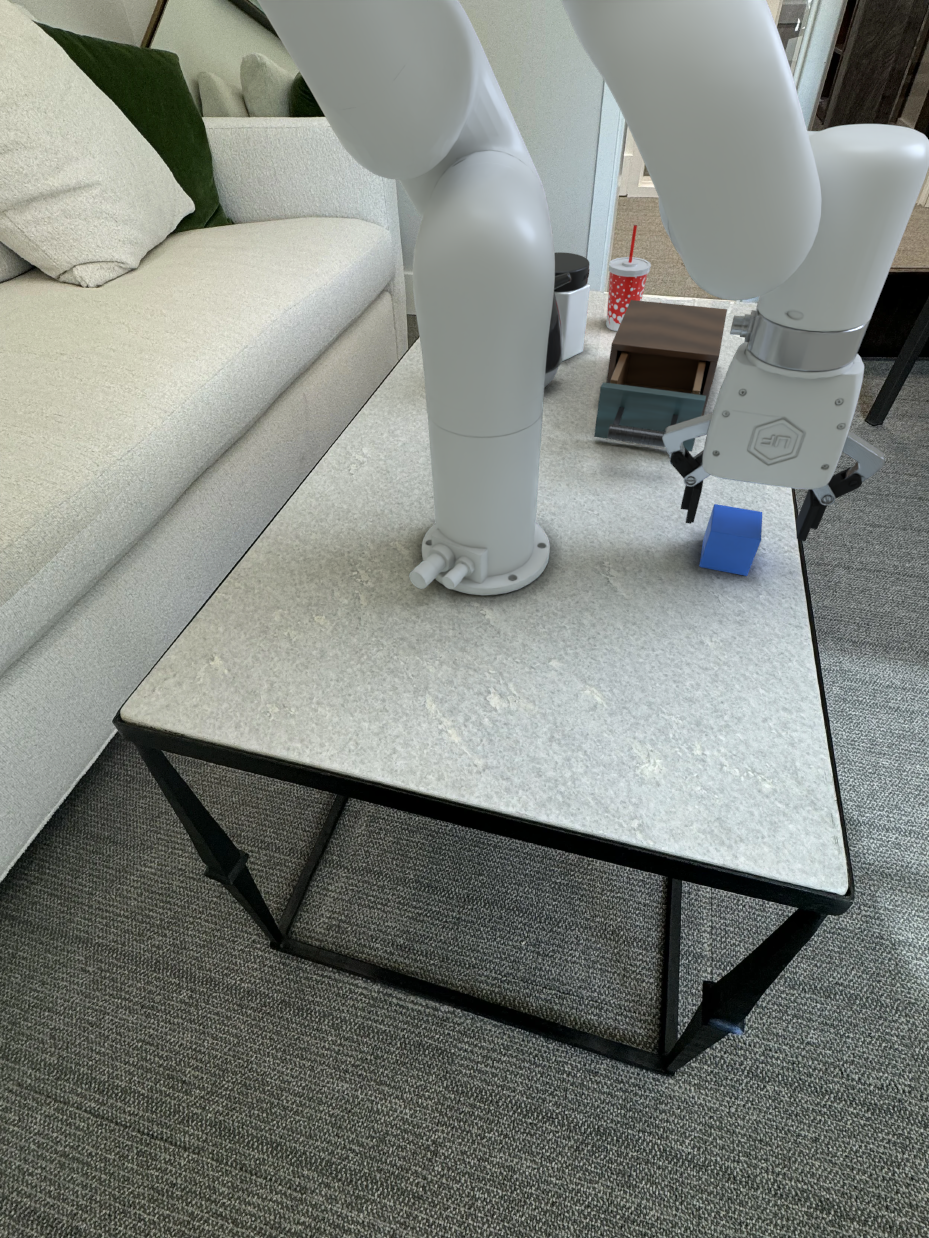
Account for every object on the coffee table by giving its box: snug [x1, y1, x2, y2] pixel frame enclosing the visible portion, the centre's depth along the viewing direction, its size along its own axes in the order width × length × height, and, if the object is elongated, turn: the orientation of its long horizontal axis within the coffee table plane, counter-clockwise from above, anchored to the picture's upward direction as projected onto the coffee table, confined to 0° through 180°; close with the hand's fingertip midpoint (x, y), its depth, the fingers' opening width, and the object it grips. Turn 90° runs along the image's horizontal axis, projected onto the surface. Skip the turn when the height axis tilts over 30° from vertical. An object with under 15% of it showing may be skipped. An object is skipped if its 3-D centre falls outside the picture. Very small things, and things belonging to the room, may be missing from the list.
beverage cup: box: [605, 224, 652, 332], centre depth 96 cm, size 6×6×14 cm
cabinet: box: [605, 300, 728, 416], centre depth 84 cm, size 15×13×8 cm
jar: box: [554, 251, 591, 362], centre depth 92 cm, size 9×8×12 cm
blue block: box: [698, 503, 763, 577], centre depth 61 cm, size 4×4×4 cm
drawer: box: [593, 351, 706, 452], centre depth 76 cm, size 20×11×6 cm, turn 161°
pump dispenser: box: [544, 273, 571, 388], centre depth 83 cm, size 10×10×15 cm
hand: (744, 523), depth 60 cm, fingers open, 9 cm apart
